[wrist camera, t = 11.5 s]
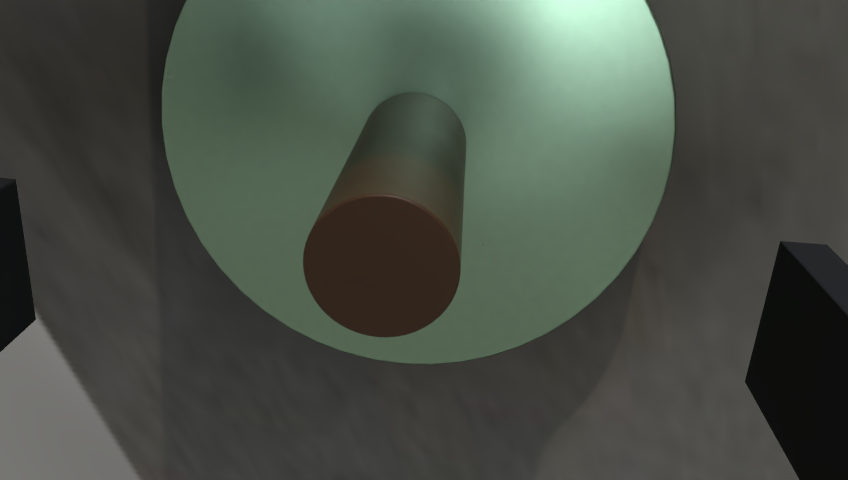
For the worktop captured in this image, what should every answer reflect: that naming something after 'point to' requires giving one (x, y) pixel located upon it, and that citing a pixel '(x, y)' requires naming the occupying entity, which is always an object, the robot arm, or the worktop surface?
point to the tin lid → (419, 161)
